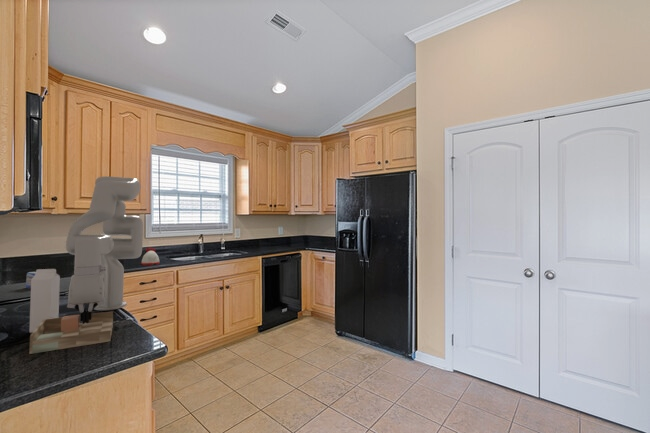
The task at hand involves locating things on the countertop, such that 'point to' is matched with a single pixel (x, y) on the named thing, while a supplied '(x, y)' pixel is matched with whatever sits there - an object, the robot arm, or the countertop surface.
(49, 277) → the milk
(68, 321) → the block
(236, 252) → the countertop surface
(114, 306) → the robot arm
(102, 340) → the wooden cubby shelf
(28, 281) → the medicine box
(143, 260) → the kitchen timer
